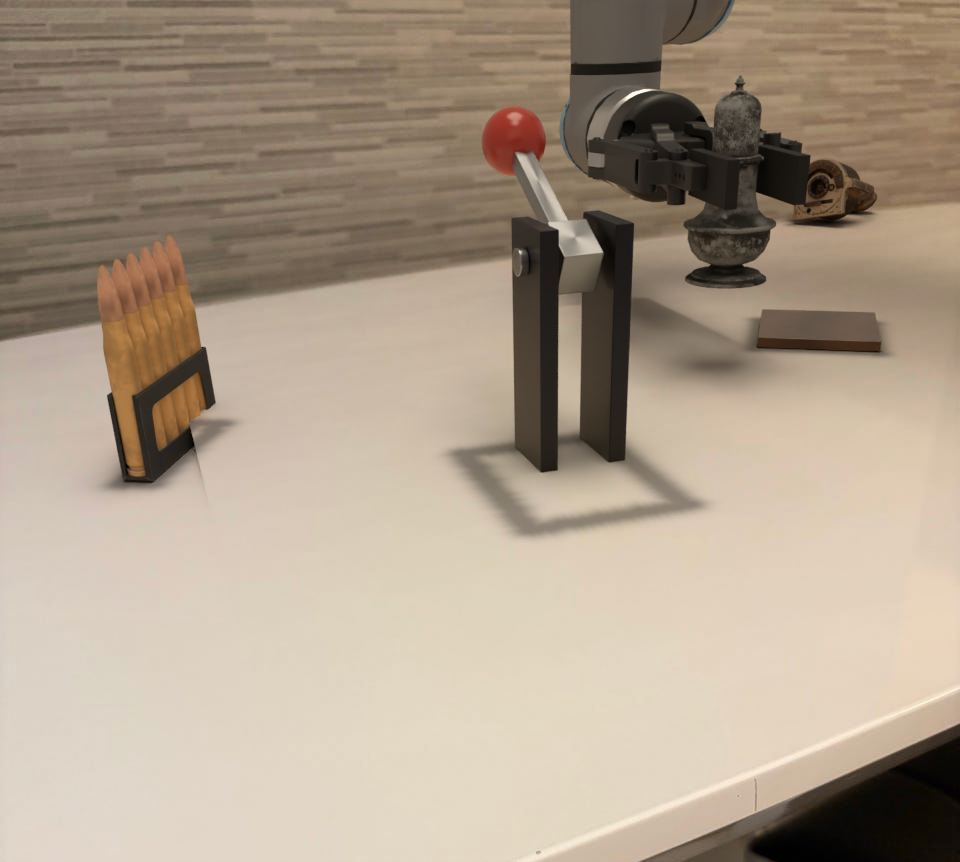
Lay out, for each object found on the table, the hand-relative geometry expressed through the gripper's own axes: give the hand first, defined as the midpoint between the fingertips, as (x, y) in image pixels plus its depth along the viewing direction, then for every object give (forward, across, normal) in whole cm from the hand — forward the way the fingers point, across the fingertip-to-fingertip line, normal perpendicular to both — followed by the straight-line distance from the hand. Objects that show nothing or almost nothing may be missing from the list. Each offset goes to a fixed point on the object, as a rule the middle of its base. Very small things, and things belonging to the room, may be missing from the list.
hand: (767, 182), depth 63 cm
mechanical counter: (-64, -37, -14) cm, 76 cm away
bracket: (+8, +14, -14) cm, 21 cm away
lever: (+3, +15, -1) cm, 15 cm away
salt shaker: (-5, 0, -7) cm, 9 cm away
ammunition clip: (-2, +37, -14) cm, 39 cm away
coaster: (-16, -12, -14) cm, 25 cm away
